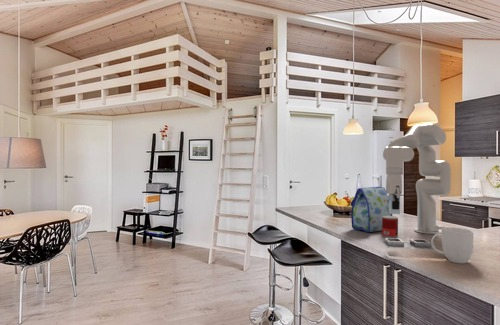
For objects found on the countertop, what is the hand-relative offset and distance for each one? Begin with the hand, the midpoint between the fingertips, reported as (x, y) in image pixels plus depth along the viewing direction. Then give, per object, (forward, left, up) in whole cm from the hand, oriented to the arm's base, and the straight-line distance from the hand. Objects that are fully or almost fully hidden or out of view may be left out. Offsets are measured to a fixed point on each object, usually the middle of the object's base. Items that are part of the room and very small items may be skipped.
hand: (394, 208), depth 147 cm
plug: (0, 0, -3) cm, 3 cm away
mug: (-18, +19, -19) cm, 32 cm away
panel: (-6, 0, -19) cm, 20 cm away
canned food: (-4, -20, -19) cm, 28 cm away
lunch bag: (+2, -37, -19) cm, 42 cm away
